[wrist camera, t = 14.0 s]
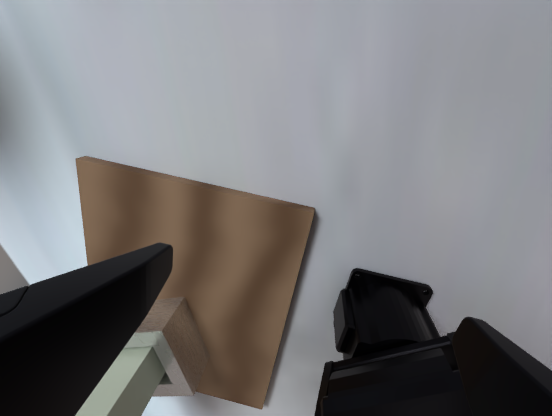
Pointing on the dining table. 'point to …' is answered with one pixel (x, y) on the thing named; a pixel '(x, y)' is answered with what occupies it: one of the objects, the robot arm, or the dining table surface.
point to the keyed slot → (173, 346)
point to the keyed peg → (126, 384)
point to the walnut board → (206, 261)
